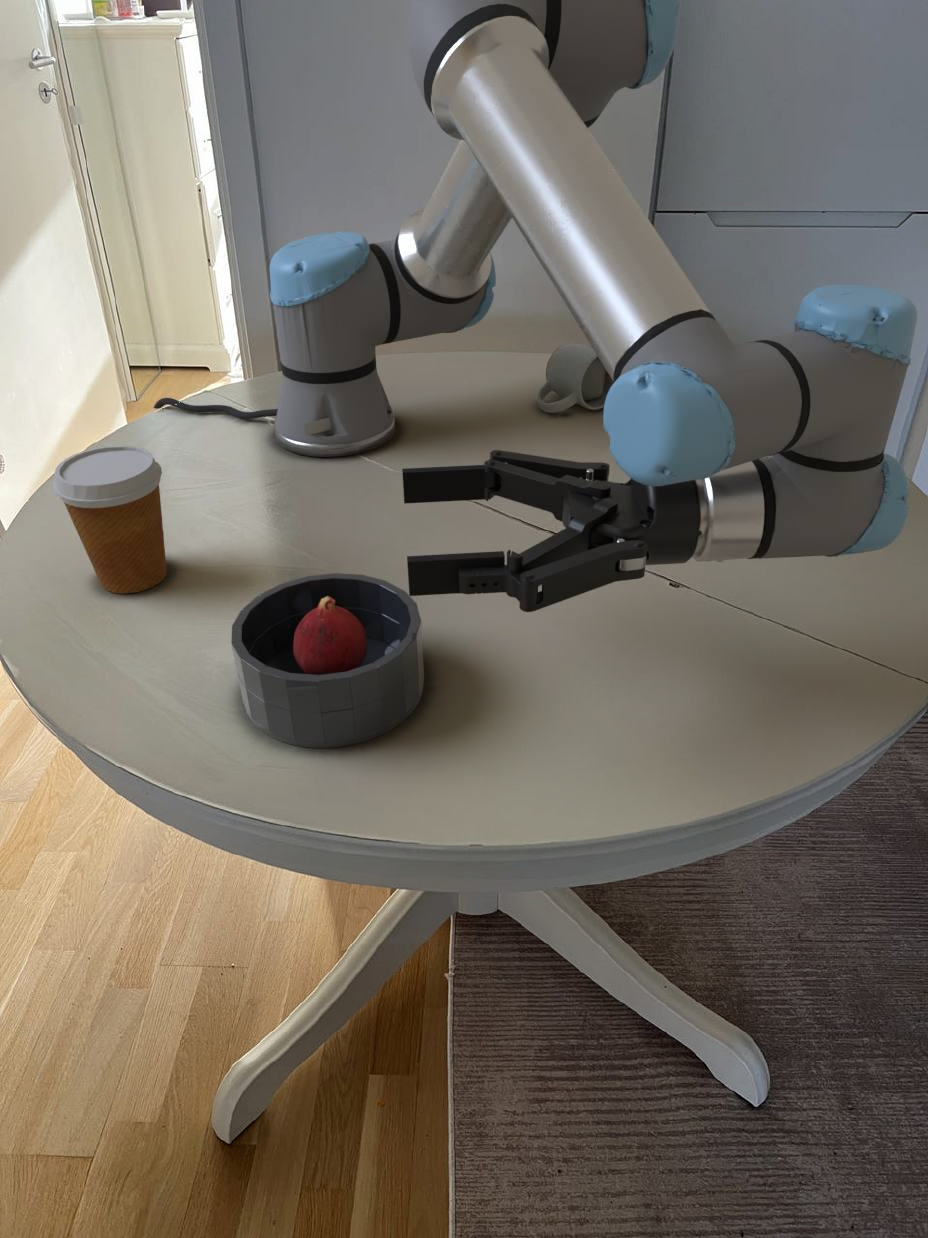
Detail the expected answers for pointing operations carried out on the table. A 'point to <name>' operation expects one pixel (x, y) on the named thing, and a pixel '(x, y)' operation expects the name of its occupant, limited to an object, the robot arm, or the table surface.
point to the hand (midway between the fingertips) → (404, 527)
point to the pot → (337, 700)
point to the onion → (329, 640)
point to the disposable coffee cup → (116, 514)
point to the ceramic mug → (575, 379)
